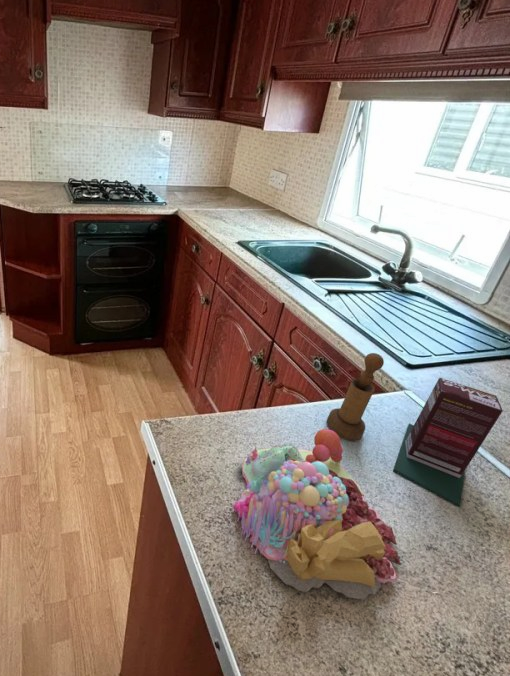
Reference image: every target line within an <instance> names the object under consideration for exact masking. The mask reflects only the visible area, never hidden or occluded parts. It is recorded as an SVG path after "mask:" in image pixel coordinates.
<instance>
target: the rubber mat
mask: <svg viewBox="0 0 510 676" xmlns="http://www.w3.org/2000/svg"><path fill="white" fill-rule="evenodd" d="M413 426H414V424H411V423H408V425H407V427H406V431H405V433H404V437H403V439H402V443H401V445H400V447H399V451H398V454H397V456H396V457H397V458H396V460H395V464H394V466H393V469H392V472H394V473H396V474H398V475H399V476H402V477H403V478H405V479H407V480H408V481H410V482H412V483H414V484H416V485H417V486H419V487H421V488H424V489H425V490H427V491H428V492H431V493H433V494H435V495H436V496H437V497H440V498H442V499H443V500H445V501H447V502H449V503H451V504H452V505H454V506H457V507H458V508H460V507H461V506H462V497H463V491H464V482H465V480H464V479H465V473H466V470H465V471H464V473H463V474H462V475H461V477H460V478H458V477H455V476H453V475H450V474H448V473H445V472H443V471H440V470H438V469H435V468H433V467H430V466H428V465H425V464H423V463H420V462H418V461H415V460H413V459H410V458H407V454H406V444H405V441H406V439H407V437H408V435H409V433H410V432H411V430H412V428H413Z"/></svg>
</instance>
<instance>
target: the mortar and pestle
mask: <svg viewBox="0 0 510 676" xmlns="http://www.w3.org/2000/svg"><path fill="white" fill-rule="evenodd" d="M384 363H385V361H384V357H383V356H382V355H380V354H379V353H376V352H370V353H368V354H367V355H365V357H364V366H365V369H364V370H363V371H361V372H360V374H359V378H354V379H351V382H350V385H349V387H348V389H347V392H346V394H345V397H344V399H343V401H342V402H341V405H340V408H339V407H337V408H333V409H331V410H330V412H329V413H328V417H327V419H326V426H327V427H328V429H329V430H332V431H334V432H335V433H336V434H337V435H338V436H339V438H340V439H343V440H345V441H349V442H356V441H359V440H361V439H362V437H363V435H364V434H365V431H366V423H365V422H364V420H363V419H362V418H363V415H364V413H365V411H366V409H367V407H368V404H369V402H370V401H371V398H372V396H373V395H374V392H375V390H376V389H375V386H374V385H373V384H372V382H373V381H374V379H375V376H374V373H376V372H377V371H379V370H380V369H382V368H383V366H384Z"/></svg>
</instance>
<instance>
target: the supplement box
mask: <svg viewBox="0 0 510 676" xmlns="http://www.w3.org/2000/svg"><path fill="white" fill-rule="evenodd" d="M501 405H502V404H501V403H500V401H499V398H498V396H497V395H495V394H492V393H489V392H486V391H483V390H480V389H476V388H474V387H470V386H467V385H464V384H461V383H458V382H455V381H452V380H448V379H446V378H442V377H438V379H437V381H436V383H435V385H434V387H433V389H432V391H431V392H430V394H429V396H428V398H427V400H426V402H425V403H424V405H423V407H422V409H421V411H420V412H419V415H418V417H417V419H416V420H415V422H414V424H413V425H414V426H413V428H412V430H411V432H410V433H409V435H408V437H407V439H406V441H405V444H406V454H407V458H410V459H413V460H415V461H418V462H420V463H423V464H425V465H428V466H430V467H433V468H435V469H438V470H440V471H443V472H445V473H448V474H450V475H453V476H455V477H458V478H460V477H461V475H462V474H463V473H464V471H465V472H466V469H467V468H468V466H469V465H470V463H471V462H472V460H473V458H474V457H475V456H476V454H477V452H478V451H479V449H480V447H481V446H482V444H483V443H484V441H485V440H486V438H487V437H488V435H489V433H490V432H491V430H492V429H493V427H494V426H495V424H496V422H497V421H498V420H499V418H500V416H501V414H502V413H503V412H504V411H503V409H502V406H501Z"/></svg>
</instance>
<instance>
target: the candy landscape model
mask: <svg viewBox="0 0 510 676" xmlns="http://www.w3.org/2000/svg"><path fill="white" fill-rule="evenodd" d="M313 442H314V445H315V446H314V447H313V448H312V451H311V450H310V449H309V450H308V449H303V448H302V449H301V448H296V446H295V445H293V444H292V443H286V444H276V445H273V446H272V447H266V448H259V449H257V446H255V447H254V450H252V452H251V454H250V455H248V456H247V457H246V458H245V459H244V460H243V462H242V466H241V474H242V477H243V479H244V480H245V483H246V486H245V489H244V491H242V492H241V495H240V497H239V498H238V499H237V502H235V503H234V504H233V511H235V513H237V514H238V516H237V522H239V520H240V518H241V521H240V525H241V527H240V528H241V529H242V530H241V532H240V535H241V536H245V539H244V542H245V543H246V542H247V540H248V539H249V543H251V545H250V549H253V547H254V546H255V547H256V548H255V551H254V553H253V554H254V555H256V554H257V553H258V551H259V554H262V556H264V557H265V558H266V559H267V563H268V564H269V567H270V569H271V570H272V572H273V573H275V575H276V576H277V577H278V578H279V579H280V580H281V581H282V582H283V583H284V584H286V585H287V586H292V587H293V588H294V589H295V590H297V591H299V592H304V593H307V592H309V591H310V590H311V589H312V588H315V589H321V587H322V586H323V585H324V584H326V585H328V586H329V587H330V588H331V589H332V590H333V591H334V592H337V593H341V594H343V596H345V597H347V598H350V599H351V598H352V599H356V600H363V601H364V600H365V599H366V598H367V597H368V595H376V594H377V592H378V591H379V589H381V588H382V584H386V583H388V582H389V583H393V582H395V579H396V578H397V573H396V571H395V568H394V566H393V564H396V565H398V566H401V561H400V557H399V554H398V551H397V550H396V548H394V547H393V545H392V544H394V545H396V546H397V545H398V544H397V540H396V537H395V534H394V531H393V528H392V526H388V525H387V524H386V523H385V522H384V521H383V520H382V518H381V516H380V514H379V512H377V510H375V509H374V508H372V507H371V506H370V505H369V504H368V502H366V501H365V499H366V498H365V492H364V491H363V489H362V488H361V487H360V485H359V484H358V482H357V481H356V480H355V479H354V478H353V477H352V476H351V475H350V473H349V472H348V471H347V470H346V468H345V467H343V466H342V465H341V462H342V460H343V453H344V448H343V446H342V442H341V438H340V437H339V436H338V435H337V434H336V433H335V432H334V431H332V430H330V429H329V428H322V429H319V430H318V431H317V432H316V433H315V435H314V437H313ZM391 543H392V544H391ZM392 563H393V564H392Z"/></svg>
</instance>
